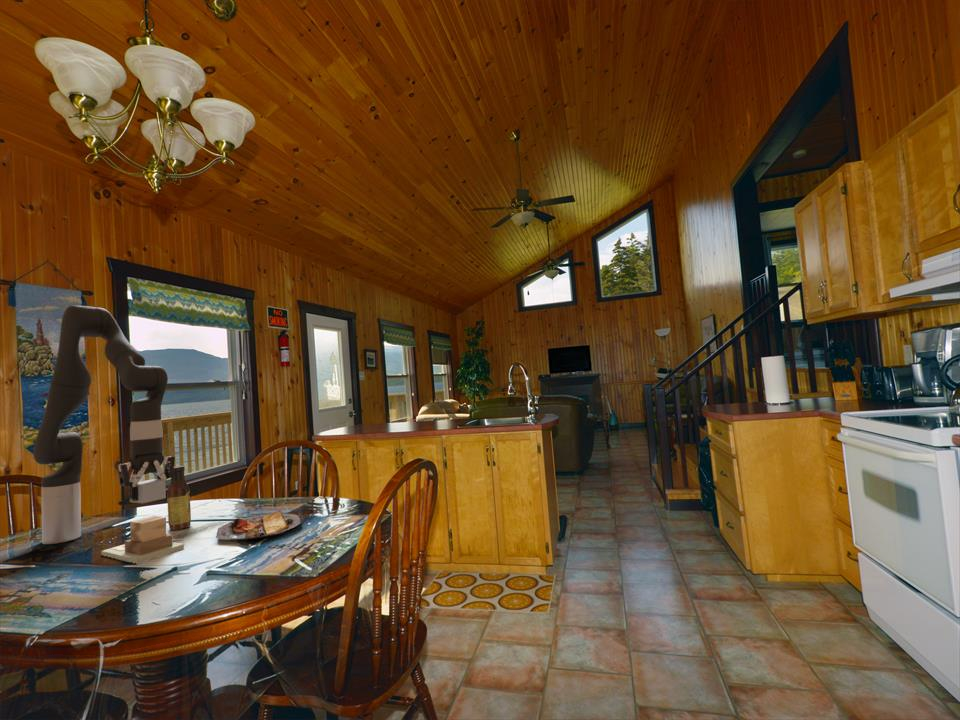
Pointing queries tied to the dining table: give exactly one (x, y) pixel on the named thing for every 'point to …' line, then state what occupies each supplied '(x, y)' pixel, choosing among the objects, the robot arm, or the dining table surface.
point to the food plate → (258, 526)
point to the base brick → (148, 545)
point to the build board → (129, 557)
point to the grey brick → (150, 491)
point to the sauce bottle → (178, 501)
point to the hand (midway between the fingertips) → (147, 497)
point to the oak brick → (148, 528)
